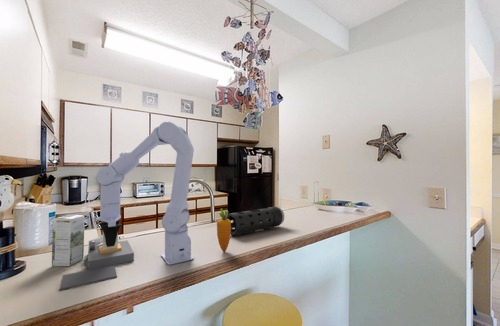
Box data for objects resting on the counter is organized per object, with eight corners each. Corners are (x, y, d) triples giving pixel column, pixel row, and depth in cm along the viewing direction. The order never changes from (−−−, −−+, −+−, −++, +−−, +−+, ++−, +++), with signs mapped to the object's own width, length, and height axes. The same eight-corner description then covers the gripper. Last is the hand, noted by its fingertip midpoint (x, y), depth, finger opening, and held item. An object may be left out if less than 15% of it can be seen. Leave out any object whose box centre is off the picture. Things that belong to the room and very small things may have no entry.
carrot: (232, 253, 79) (232, 209, 80) (218, 255, 78) (217, 210, 78) (229, 249, 84) (229, 207, 84) (215, 250, 83) (215, 208, 83)
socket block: (133, 260, 74) (133, 252, 74) (87, 270, 67) (87, 261, 67) (127, 246, 87) (127, 240, 87) (88, 253, 80) (88, 246, 80)
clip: (118, 236, 91) (118, 229, 91) (92, 250, 76) (93, 241, 76) (113, 237, 91) (113, 229, 91) (87, 250, 76) (87, 241, 76)
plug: (121, 257, 76) (121, 231, 77) (99, 261, 73) (99, 234, 73) (119, 251, 81) (119, 228, 82) (99, 255, 78) (99, 230, 78)
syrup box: (66, 259, 76) (67, 214, 76) (84, 259, 76) (84, 214, 76) (51, 266, 70) (51, 218, 70) (70, 266, 70) (70, 218, 70)
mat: (116, 277, 63) (116, 275, 63) (59, 290, 56) (59, 289, 56) (114, 265, 70) (114, 264, 70) (63, 276, 63) (63, 275, 63)
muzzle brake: (225, 234, 103) (225, 211, 103) (272, 225, 120) (272, 205, 120) (236, 239, 95) (236, 214, 96) (285, 229, 112) (285, 207, 112)
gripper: (95, 201, 81) (95, 240, 81) (96, 207, 69) (96, 253, 69) (118, 200, 85) (118, 237, 85) (123, 205, 73) (123, 248, 73)
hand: (110, 244), depth 77 cm, fingers closed on plug, 4 cm apart
